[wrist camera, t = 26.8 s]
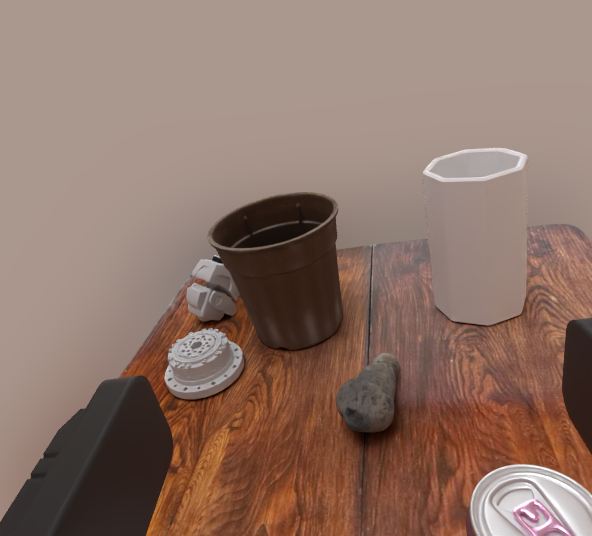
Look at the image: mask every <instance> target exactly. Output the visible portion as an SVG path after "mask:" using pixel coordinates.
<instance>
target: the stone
mask: <svg viewBox="0 0 592 536" xmlns="http://www.w3.org/2000/svg"><path fill="white" fill-rule="evenodd" d="M400 370H401V367H400V364H399V362H398V361H397V359H396V358H395V357H394V356H393V355H392V354H389V353H381V354H378V355H377V356H376V357H375V358H374V360H373V364H370V365H368V366H367V367H366V368H365V369H363V370H362V371H361V373H360V374H359V375H358V377H357V378H355V379H351V380H349V381H348V382H347V383H345V384H344V385H342V386H341V388H340V389H339V392H338V394H337V398H336V406H337V409H338V411H339V414H340V415H341V416H342V418H344V420H345V422H346V423H347V425H348V427H349V428H351V429H352V430H354V431H358V432H371V433H375V432H380V431H383V430H385V429H386V428H387V427H388V426H389V425H390V424H391V423H392V420H393V417H394V408H395V406H394V398H395V392H396V377H397V375H398V374H399V372H400Z"/></svg>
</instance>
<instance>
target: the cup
mask: <svg viewBox="0 0 592 536" xmlns="http://www.w3.org/2000/svg"><path fill="white" fill-rule="evenodd" d="M527 171H528V157H527V155H525V154H523V153H519V152H516V151H512V150H508V149H505V148H487V149H469V150H462V151H459V152H456V153H452V154H449V155H446V156H442V157H439V158H435V159H434V160H433V161H432V162H431V163H430V164H429V165H428V166H427V168H426V169H425V170H424V171H423V172H422V173H423V184H424V195H425V206H426V217H427V227H428V239H429V249H430V260H431V271H432V282H433V292H434V303H435V306H436V307H437V308H438V309H439V310H441V311H442V312H443V313H444V314H445V315H446V316H447V317H448V318H449V319H450V320H452V321H456V322H464V323H472V324H480V325H488V326H489V325H493V324H495V323H498V322H501V321H504V320H507V319H510V318H512V317H515V316H518V315H520V314H522V310H523V306H524V302H525V298H526V266H527Z"/></svg>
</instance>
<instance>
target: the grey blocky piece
mask: <svg viewBox="0 0 592 536" xmlns="http://www.w3.org/2000/svg"><path fill="white" fill-rule="evenodd" d="M192 276H194V277H197V278H200V279H203V280H205V281H206V286H204V285H200V284H196V283H194V284H193V285H192V286H191V287H188V289H187V302H188V303H189V305H188V309H189V311H190V312H191V313H193V314H195V315H196V316H197V317H198V319H199V320H201V321H203V322H206V321H209V320H217V321H219V320H221V319H222V317H223V316H224V313H225V314H227V315H230V316H233V315H234V314H235V313H236V311H237V309H236V306H235V304H234V302H233V301H232V300H231V298H232V299H233V300H235V301H237V300H238V299H239V296H240V294H239V292H238V289H237V287H236V285H235V283H234V281H233V279H232V276H231V274H230V272H229V271H228V270H227V269H226V268H225V267H224V265H223V263H222V260H221V258H220V256H216V255H214V257H213V260H212V261H211V260H204V259H201V260H200V261H199V262H198V264H197V265H196V267H195V268H194V270H193V272H192ZM228 296H229V297H231V298H229V297H228Z"/></svg>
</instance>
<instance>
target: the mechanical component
mask: <svg viewBox="0 0 592 536" xmlns="http://www.w3.org/2000/svg"><path fill="white" fill-rule="evenodd" d="M176 342H177V343H176V344H173V345H172V348H170V349H169V354H168V361H169V366H168V368H167V370H166V373H165V381H166V384H167V386H168V388H169V391H170V392H171V393H172V394H173V395H175V396H176V397H179V398H182V399H199V398H204V397H208V396H211V395H214V394H216V393H218V392H220V391H222V390H223V389H225V388H226V387H228V386H229V385H231V384H232V383H233V382H234V381H235V380H236V379H237V378H238V377H239V375H240V373H241V372H242V370H243V367H244V356H243V354H242V351H241V348H240V347H239V346H238V345H237V344H235V343H233V342H231V341H228V339H227V337H226V335H225V334H223V333H222V332H219V331H218V329H215V330H213V329H212V328H210V329H208V330H206V329H202V331H199V332H196V333H192V332H190V333H189V334H188V336H186V337H185V338H183V339H181V340H180V339H178V340H177V341H176Z"/></svg>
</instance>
